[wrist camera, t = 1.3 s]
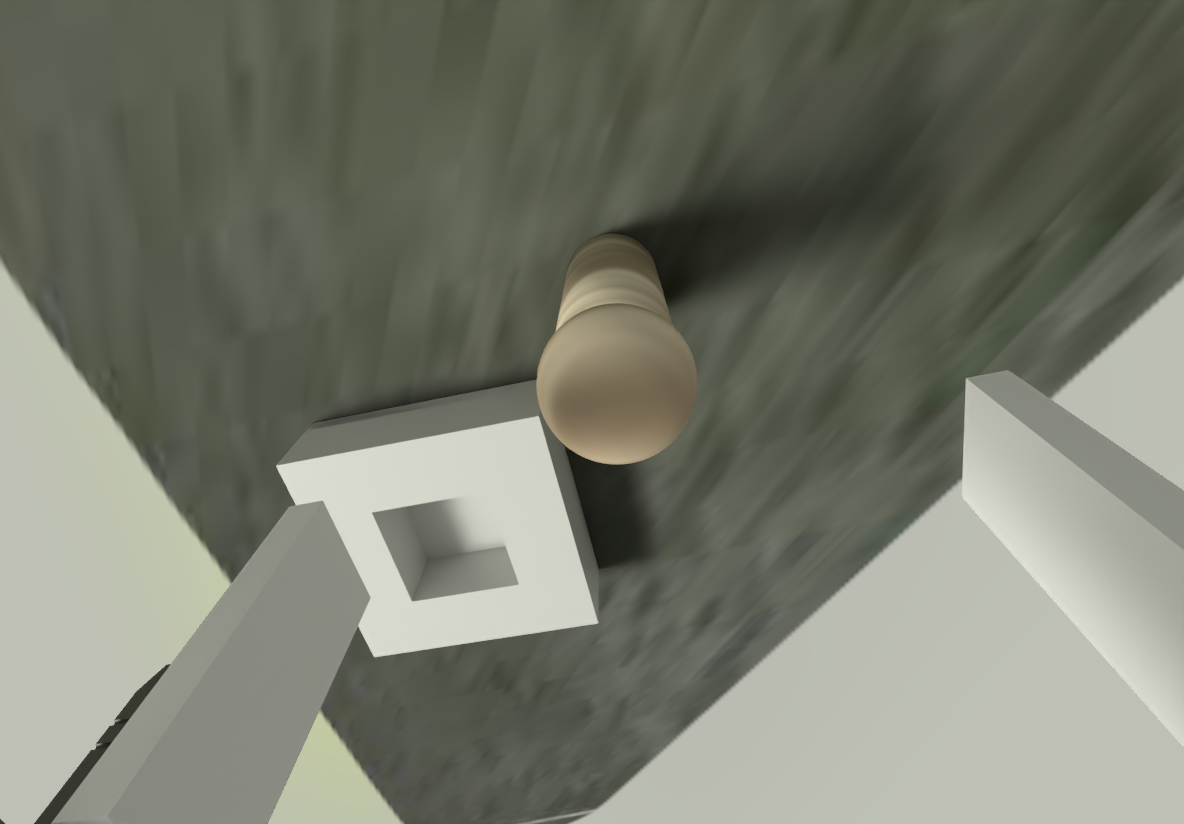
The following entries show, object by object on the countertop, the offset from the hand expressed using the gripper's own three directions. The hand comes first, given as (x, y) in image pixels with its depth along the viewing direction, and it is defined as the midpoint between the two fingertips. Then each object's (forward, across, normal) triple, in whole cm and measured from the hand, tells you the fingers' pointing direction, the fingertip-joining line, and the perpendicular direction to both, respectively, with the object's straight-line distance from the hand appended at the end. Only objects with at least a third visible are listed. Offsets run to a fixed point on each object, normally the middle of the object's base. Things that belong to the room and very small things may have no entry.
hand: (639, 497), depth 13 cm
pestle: (+17, 0, 0) cm, 17 cm away
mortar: (+17, -10, -10) cm, 22 cm away
